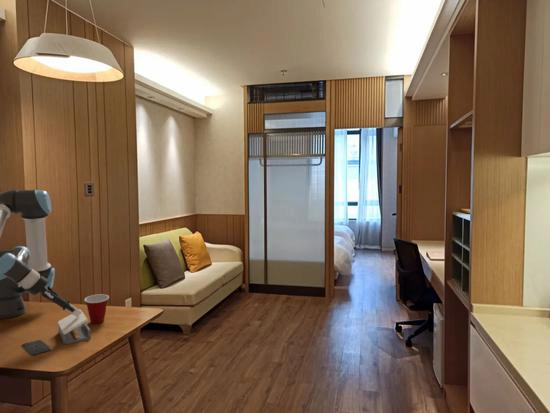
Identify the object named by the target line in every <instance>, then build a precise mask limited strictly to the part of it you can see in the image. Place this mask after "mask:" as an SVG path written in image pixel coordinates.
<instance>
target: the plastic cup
mask: <svg viewBox="0 0 550 413" xmlns="http://www.w3.org/2000/svg"><path fill="white" fill-rule="evenodd" d="M109 299H110V295H108V294H103V293H100V294H92V295H88V296H86V297H85V298H84V302H85V305H86V307H87V312H88V317H89V320H90V323H91V324H94V325H95V324H100V323H103V322H104V321H105V316H106V311H107V305H108V302H109Z"/></svg>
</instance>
